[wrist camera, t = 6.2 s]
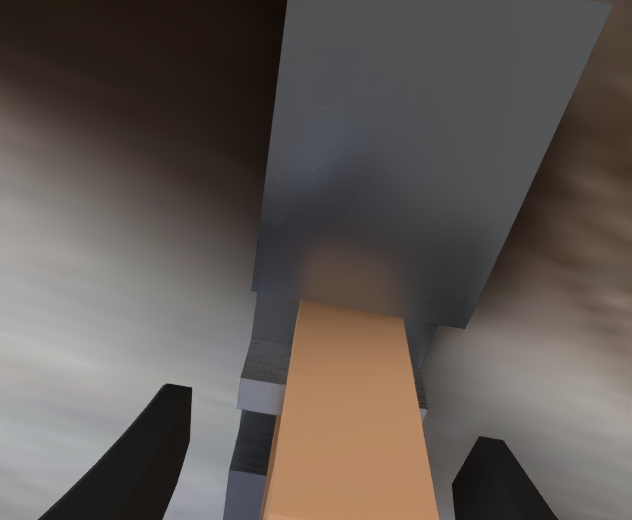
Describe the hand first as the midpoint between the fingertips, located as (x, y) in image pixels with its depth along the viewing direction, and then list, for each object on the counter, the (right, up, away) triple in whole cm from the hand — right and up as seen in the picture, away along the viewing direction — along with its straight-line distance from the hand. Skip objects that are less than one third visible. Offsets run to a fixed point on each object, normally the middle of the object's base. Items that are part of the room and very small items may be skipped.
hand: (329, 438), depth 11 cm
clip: (0, +1, +2) cm, 2 cm away
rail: (0, +2, +3) cm, 4 cm away
